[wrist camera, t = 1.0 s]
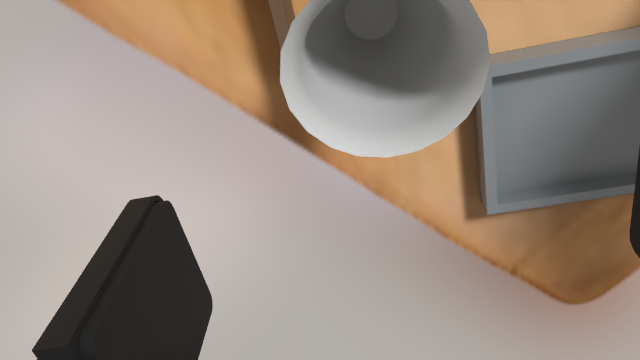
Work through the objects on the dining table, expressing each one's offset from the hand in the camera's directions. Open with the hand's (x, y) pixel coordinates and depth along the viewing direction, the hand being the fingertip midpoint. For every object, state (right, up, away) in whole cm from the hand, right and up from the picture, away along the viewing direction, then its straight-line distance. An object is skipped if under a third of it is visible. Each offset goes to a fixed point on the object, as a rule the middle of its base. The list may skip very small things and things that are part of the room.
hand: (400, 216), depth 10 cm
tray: (+17, +5, +27) cm, 33 cm away
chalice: (+1, +14, +23) cm, 27 cm away
